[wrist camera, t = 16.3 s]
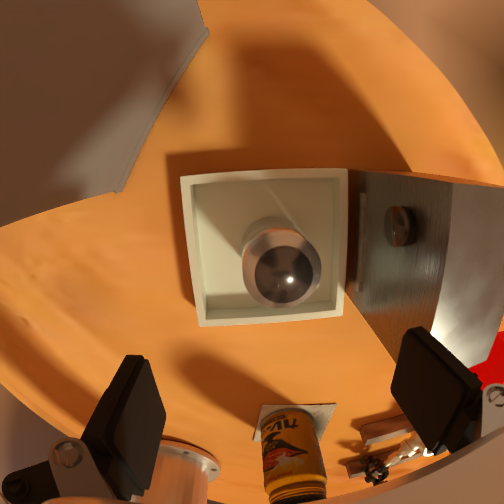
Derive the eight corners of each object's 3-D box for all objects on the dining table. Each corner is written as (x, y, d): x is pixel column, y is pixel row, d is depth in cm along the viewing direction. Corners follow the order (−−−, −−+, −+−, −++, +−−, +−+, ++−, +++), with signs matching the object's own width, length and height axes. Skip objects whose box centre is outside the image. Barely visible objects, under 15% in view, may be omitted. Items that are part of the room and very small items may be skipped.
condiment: (261, 403, 27) (269, 502, 15) (336, 402, 27) (366, 490, 16) (253, 439, 29) (257, 523, 17) (319, 438, 29) (338, 515, 18)
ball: (452, 356, 26) (484, 393, 19) (494, 314, 25) (530, 343, 18) (462, 382, 28) (487, 415, 21) (499, 345, 27) (528, 373, 20)
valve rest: (345, 466, 33) (349, 478, 30) (361, 425, 29) (367, 439, 27) (420, 444, 33) (425, 453, 30) (446, 399, 29) (453, 409, 27)
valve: (418, 401, 29) (354, 453, 31) (437, 430, 23) (363, 485, 25) (437, 416, 30) (377, 464, 32) (454, 443, 23) (387, 492, 25)
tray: (202, 313, 23) (199, 326, 21) (185, 175, 20) (179, 176, 18) (335, 304, 23) (342, 315, 21) (338, 167, 20) (347, 168, 18)
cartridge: (255, 284, 22) (262, 324, 16) (231, 231, 21) (228, 257, 15) (309, 260, 22) (334, 293, 16) (288, 206, 20) (308, 222, 15)
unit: (336, 292, 23) (399, 391, 11) (338, 169, 20) (438, 181, 8) (406, 284, 23) (488, 359, 12) (414, 171, 20) (527, 191, 8)
